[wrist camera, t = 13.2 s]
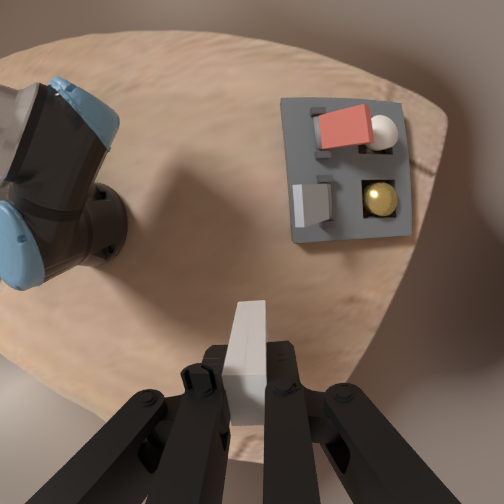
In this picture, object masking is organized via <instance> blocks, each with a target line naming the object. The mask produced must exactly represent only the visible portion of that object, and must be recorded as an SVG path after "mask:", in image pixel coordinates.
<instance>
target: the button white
mask: <svg viewBox="0 0 504 504" xmlns="http://www.w3.org/2000/svg"><path fill="white" fill-rule="evenodd" d="M371 121H372V128H373V136H374V143H371V144H364V145H365V146H366V147H367V148H369V149H370V150H373V151H380V150H383V149H387V148H390V147H392V146H394V145H395V143H396V142H397V139H398V130H397V127H396V125H395V124H394V122H393V121H392V120H391V119H390V118H388V117H386V116H383V115H377V116H374V117H373V118H371Z"/></svg>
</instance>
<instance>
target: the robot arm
mask: <svg viewBox="0 0 504 504" xmlns="http://www.w3.org/2000/svg"><path fill="white" fill-rule="evenodd" d="M119 125H120V119H119V116H118V114H117V113H116V112H115V111H114V110H113V109H111V108H110V107H109V106H107V105H106V104H105V103H103V102H102V101H100V100H99V99H97V98H96V97H94V96H93V95H91V94H90V93H88V92H87V91H85V90H83V89H81V88H80V87H77V86H76V85H74V84H72V83H70V82H69V81H67V80H65V79H63V78H61V77H57V76H56V77H54V78H53V79H52V80H51V81H49V83H48V86H46V85H44V84H41V83H38V82H35V83H33V84H31V85H29V86H27V87H25V88H23V89H20V90H17V89H13V88H10V87H7V86H4V85H1V84H0V180H3V181H9V182H10V186H9V190H8V193H7V198H6V200H4V201H3V200H1V201H0V277H1V278H2V280H3V281H4V282H5V283H6V284H7V285H8V286H10V287H11V288H13V289H15V290H19V291H24V290H27V289H30V288H32V287H34V286H40V285H42V284H43V283H44V282H46V281H48V280H50V279H52V278H54V277H55V276H57V275H59V274H61V273H63V272H65V271H67V270H69V269H71V268H73V267H75V266H77V265H80V266H99V265H102V264H104V263H106V262H108V261H110V260H112V259H113V258H114V257H115V256H117V254H118V253H119V252H120V250H121V249H122V247H123V245H124V242H125V239H126V235H127V216H126V212H125V208H124V206H123V203H122V201H121V199H120V198H119V196H118V195H117V194H116V193H115V191H113V190H112V189H111V188H110V187H108V186H106V185H104V184H101V183H94V182H95V179H96V177H97V175H98V172H99V170H100V168H101V166H102V164H103V161H104V159H105V157H106V155H107V153H108V152H110V150H111V147H110V146H111V144H112V142H113V139H114V137H115V135H116V133H117V131H118V129H119ZM181 377H182V381H183V384H184V388H185V393H184V394H182V395H178V396H173V397H166V398H164V395H163V394H162V393H161V392H160V391H158V390H154V389H146V390H142V391H139V392H137V393H136V394H134V395H133V396H132V397H131V398H130V399H129V400H128V401H127V402H126V403H125V404H124V405H123V406H122V407H121V408H120V409H119V410H118V412H117V413H116V414H115V415H114V416H113V417H112V418H111V419H110V420H109V421H108V422H107V423H106V424H105V425H104V426H103V427H102V428H101V429H100V430H99V431H98V432H97V433H96V434H95V435H94V436H93V437H92V438H91V439H90V440H89V441H88V442H87V443H86V444H85V445H84V446H83V447H82V448H81V449H80V450H79V451H78V452H77V453H76V454H75V455H74V456H73V457H72V458H71V459H70V460H69V461H68V462H67V463H66V464H65V465H64V466H63V467H62V468H61V469H60V470H59V471H58V472H57V473H56V474H55V475H54V476H53V477H52V478H51V479H50V480H49V481H48V482H47V483H46V484H44V485H43V487H41V488H40V489H39V490H38V491H37V492H36V493H35V494H34V495H33V496H32V497H31V498H30V499H29V500H28V501H27V502H26V503H25V504H142V502H143V501H144V500H145V498H146V497H147V495H148V497H147V500H146V503H145V504H222V497H223V490H224V482H225V475H226V467H227V460H228V452H229V445H230V437H231V434H230V429H229V424H230V420H231V424H232V426H242V425H264V478H263V504H321V503H320V496H319V489H318V481H317V474H316V467H315V460H314V454H313V447H312V442H314V443H320V445H321V447H322V449H323V451H324V453H325V454H326V456H327V458H328V460H329V461H330V463H331V465H332V467H333V469H334V471H335V472H336V474H337V476H338V478H339V479H340V481H341V483H342V485H343V486H344V488H345V490H346V492H347V493H348V495H349V497H350V498H351V500H352V502H353V504H461V503H460V502H459V500H458V499H457V498H456V497H455V496H454V495H453V494H452V493H451V492H450V490H449V489H448V488H447V487H446V486H445V485H444V484H443V482H442V481H441V480H440V479H439V478H438V477H437V476H436V475H435V473H434V472H433V471H432V470H431V469H430V468H429V467H428V466H427V465H426V463H425V462H424V461H423V460H422V459H421V458H420V456H419V455H418V454H417V453H416V452H415V451H414V450H413V449H412V447H411V446H410V445H409V444H408V443H407V442H406V440H405V439H404V438H403V437H402V436H401V435H400V434H399V432H398V431H397V430H396V429H395V428H394V427H393V426H392V424H391V423H390V422H389V421H388V420H387V419H386V418H385V416H384V415H383V414H382V413H381V412H380V411H379V410H378V409H377V407H376V406H375V405H374V404H373V403H372V401H371V400H370V399H369V398H368V397H367V396H366V395H365V393H364V392H363V391H362V390H361V389H360V388H359V387H357V386H356V385H353V384H350V383H339V384H335V385H333V386H331V387H329V388H328V389H327V390H326V392H317V391H312V390H309V389H307V388H306V387H304V386H303V385H302V384H301V382H300V379H299V373H298V368H297V362H296V356H295V350H294V346H293V345H292V344H291V343H290V342H289V341H278V342H268V332H267V318H266V305H265V300H259V301H243V302H238V304H237V308H236V313H235V317H234V322H233V326H232V331H231V335H230V340H229V344H228V345H212V346H211V347H209V348H208V349H207V350H206V352H205V354H204V357H203V360H202V363H196V364H192V365H189V366H187V367H186V368H184V369H183V370H182V372H181Z"/></svg>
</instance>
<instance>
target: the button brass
mask: <svg viewBox="0 0 504 504" xmlns="http://www.w3.org/2000/svg"><path fill="white" fill-rule="evenodd" d="M397 202H398V198H397V193H396V191H395V189H394V188H393V187H392V186H391V185H389V184H387V183H371V184H368V185H367V186H366V187H365V188H364V189H363V191H362V204H363V207H364V209H365V210H366V211H368V212H369V213H372V214H376V215H380V216H387V215H390V214H391V213H392V212H393V211H394V210H395V208H396V206H397Z"/></svg>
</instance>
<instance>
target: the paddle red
mask: <svg viewBox="0 0 504 504" xmlns="http://www.w3.org/2000/svg"><path fill="white" fill-rule="evenodd" d="M313 122H314V130H315V139H316V149H317V150H325V149H334V148H341V147H348V146H355V145H363V144H371V143H374V136H373V128H372V121H371V114H370V108H369V106H368V105H366V104H362V105H357V106H353V107H349V108H345V109H341V110H337V111H333V112H330V113H326V114H322V115H319V116H317V117H313Z"/></svg>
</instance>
